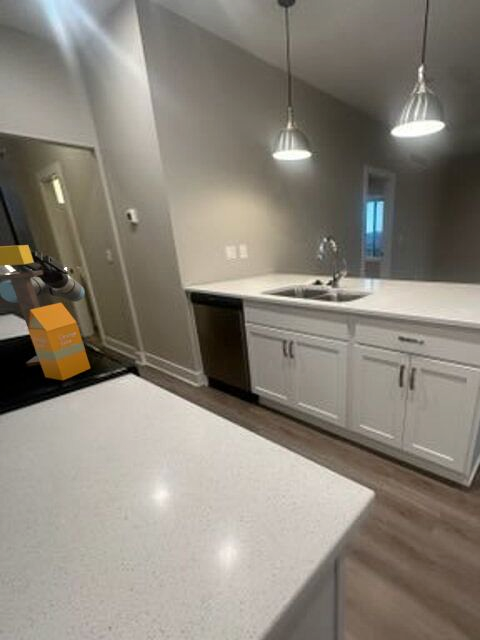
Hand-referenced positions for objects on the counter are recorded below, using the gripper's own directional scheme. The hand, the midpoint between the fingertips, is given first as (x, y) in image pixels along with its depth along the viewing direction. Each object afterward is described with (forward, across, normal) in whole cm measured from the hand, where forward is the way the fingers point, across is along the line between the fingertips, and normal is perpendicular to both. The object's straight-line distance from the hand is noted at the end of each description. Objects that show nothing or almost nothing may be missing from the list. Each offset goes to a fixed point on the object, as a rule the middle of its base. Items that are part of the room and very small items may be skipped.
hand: (18, 249), depth 103 cm
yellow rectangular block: (-2, 0, +3) cm, 4 cm away
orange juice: (-1, +10, +39) cm, 41 cm away
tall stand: (-13, 0, +32) cm, 35 cm away
